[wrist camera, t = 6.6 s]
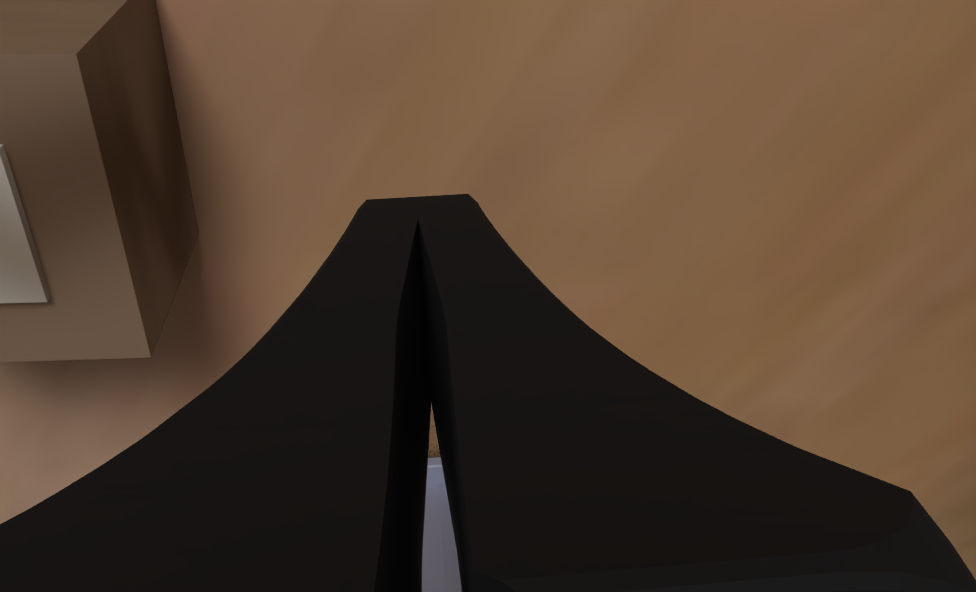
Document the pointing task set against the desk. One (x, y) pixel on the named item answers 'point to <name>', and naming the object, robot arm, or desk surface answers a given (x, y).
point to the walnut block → (88, 181)
